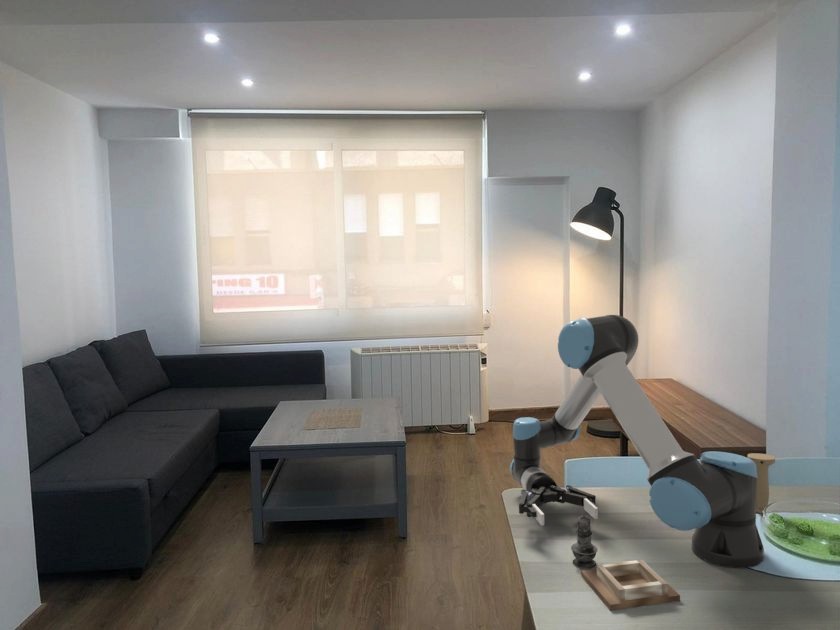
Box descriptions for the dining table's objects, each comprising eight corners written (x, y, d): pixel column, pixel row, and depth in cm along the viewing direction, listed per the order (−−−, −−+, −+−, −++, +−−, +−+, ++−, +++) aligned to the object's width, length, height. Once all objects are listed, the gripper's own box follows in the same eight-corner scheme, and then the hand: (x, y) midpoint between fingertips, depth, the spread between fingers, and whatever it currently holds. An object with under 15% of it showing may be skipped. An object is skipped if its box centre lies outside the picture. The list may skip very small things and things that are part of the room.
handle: (774, 516, 172) (776, 460, 170) (746, 513, 174) (748, 458, 172) (772, 509, 176) (774, 454, 174) (745, 506, 179) (747, 452, 177)
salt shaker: (578, 554, 155) (577, 505, 154) (602, 561, 152) (601, 511, 150) (566, 564, 151) (565, 514, 150) (590, 572, 147) (590, 520, 146)
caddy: (645, 567, 148) (645, 552, 148) (679, 600, 135) (680, 584, 134) (581, 576, 146) (581, 560, 145) (610, 610, 132) (610, 593, 132)
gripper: (582, 494, 183) (618, 526, 162) (495, 503, 179) (520, 537, 158) (582, 467, 182) (618, 496, 161) (494, 476, 178) (519, 507, 157)
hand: (569, 516), depth 160 cm, fingers open, 13 cm apart
